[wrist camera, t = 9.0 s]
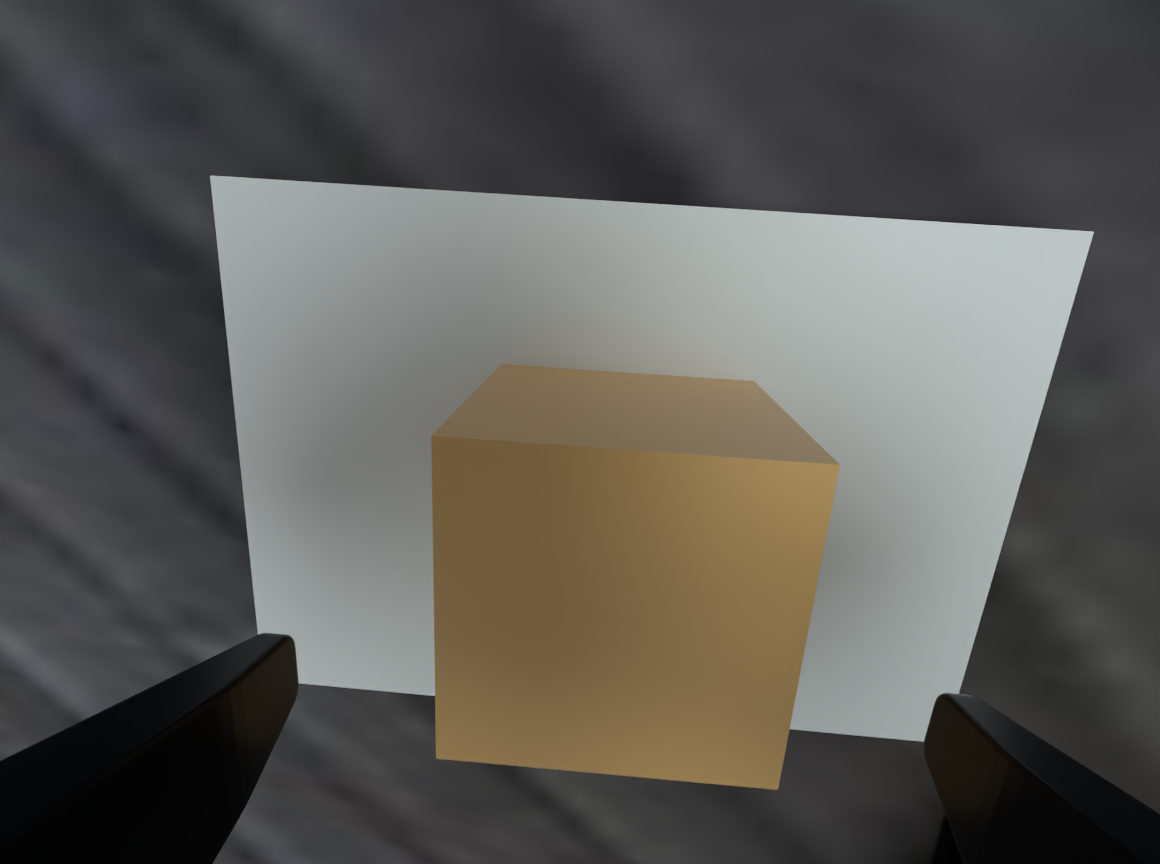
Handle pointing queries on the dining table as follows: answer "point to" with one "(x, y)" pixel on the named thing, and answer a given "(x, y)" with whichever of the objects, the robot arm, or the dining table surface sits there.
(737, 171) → the dining table surface
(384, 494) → the plate
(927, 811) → the dining table surface
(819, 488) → the cardboard box
